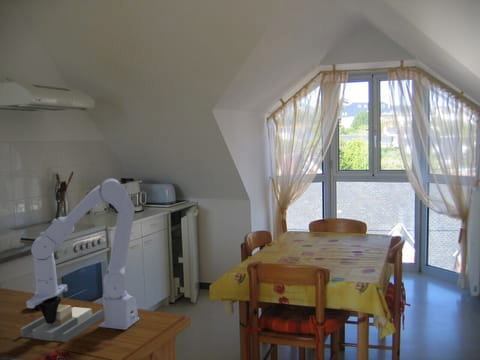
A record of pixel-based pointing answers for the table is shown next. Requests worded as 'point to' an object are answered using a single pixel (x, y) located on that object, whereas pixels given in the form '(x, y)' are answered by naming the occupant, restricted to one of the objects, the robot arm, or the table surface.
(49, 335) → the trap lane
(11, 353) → the table surface
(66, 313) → the maple block
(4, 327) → the table surface
